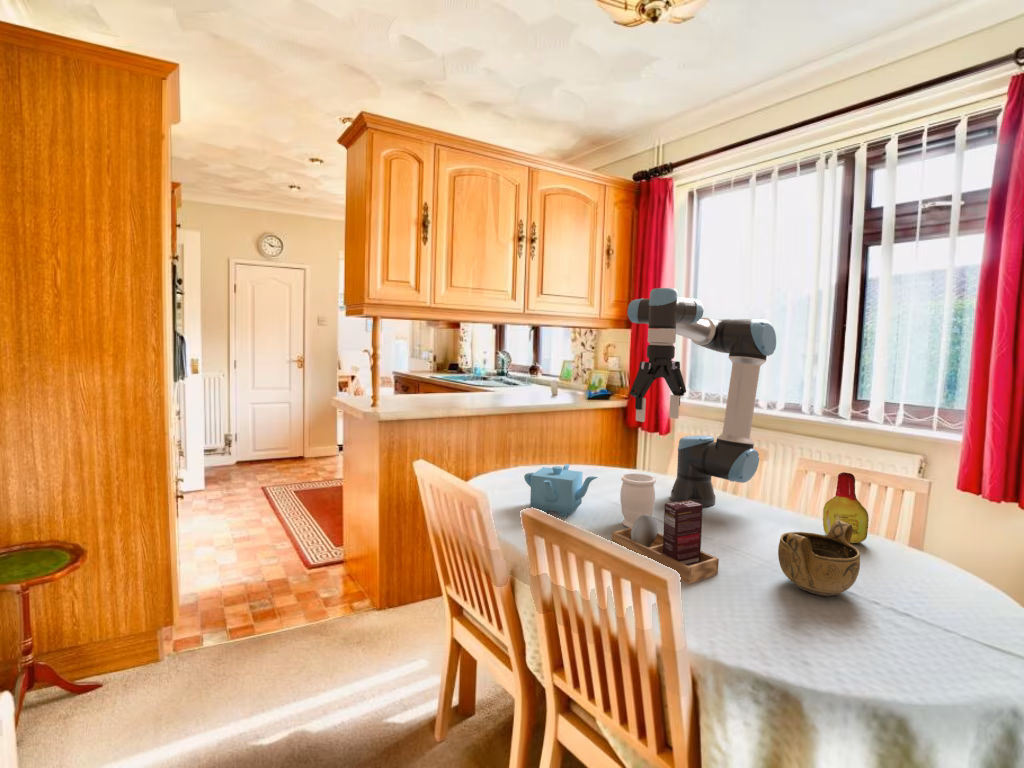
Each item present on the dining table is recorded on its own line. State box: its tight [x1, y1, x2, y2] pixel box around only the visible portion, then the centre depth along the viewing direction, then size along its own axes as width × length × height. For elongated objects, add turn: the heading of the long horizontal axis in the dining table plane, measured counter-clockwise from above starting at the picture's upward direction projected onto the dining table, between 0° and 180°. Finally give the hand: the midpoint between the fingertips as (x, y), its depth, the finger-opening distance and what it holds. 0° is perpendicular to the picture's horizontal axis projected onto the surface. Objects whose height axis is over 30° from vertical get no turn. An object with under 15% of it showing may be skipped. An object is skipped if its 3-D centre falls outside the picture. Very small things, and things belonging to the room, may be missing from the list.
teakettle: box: [524, 463, 598, 518], centre depth 182 cm, size 19×19×15 cm
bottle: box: [822, 471, 870, 544], centre depth 162 cm, size 12×6×20 cm, turn 32°
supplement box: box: [662, 500, 703, 566], centre depth 139 cm, size 9×5×16 cm, turn 114°
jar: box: [619, 473, 656, 528], centre depth 170 cm, size 11×10×15 cm
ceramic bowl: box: [777, 521, 861, 597], centre depth 130 cm, size 22×17×15 cm
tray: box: [611, 514, 720, 585], centre depth 145 cm, size 11×26×10 cm, turn 33°
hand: (657, 419), depth 157 cm, fingers open, 13 cm apart
